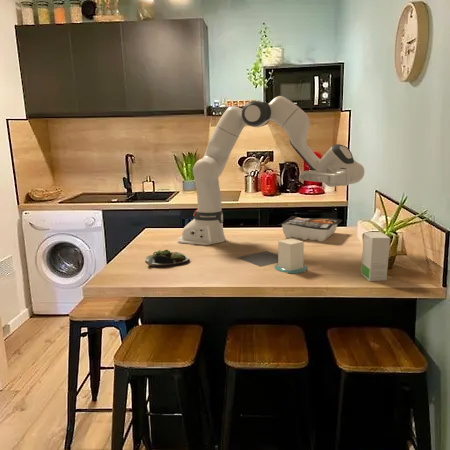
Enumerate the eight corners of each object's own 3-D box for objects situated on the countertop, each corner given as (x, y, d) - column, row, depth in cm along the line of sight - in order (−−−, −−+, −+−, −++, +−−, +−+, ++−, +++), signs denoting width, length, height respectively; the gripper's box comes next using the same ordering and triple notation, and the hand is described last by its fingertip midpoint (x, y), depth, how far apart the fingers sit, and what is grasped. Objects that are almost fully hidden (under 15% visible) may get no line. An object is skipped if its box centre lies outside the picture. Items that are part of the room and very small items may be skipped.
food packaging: (342, 218, 230) (329, 227, 211) (342, 233, 232) (328, 244, 212) (294, 214, 242) (277, 223, 223) (294, 229, 244) (277, 238, 224)
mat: (260, 267, 179) (260, 266, 179) (236, 258, 192) (236, 257, 192) (292, 260, 188) (292, 259, 188) (266, 251, 201) (266, 250, 201)
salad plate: (136, 258, 196) (136, 247, 195) (177, 252, 204) (176, 242, 203) (150, 270, 179) (149, 259, 178) (194, 264, 187) (193, 252, 186)
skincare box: (360, 274, 169) (362, 231, 166) (378, 273, 170) (380, 231, 166) (369, 281, 161) (371, 237, 158) (388, 280, 162) (390, 236, 158)
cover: (290, 271, 172) (290, 244, 170) (278, 266, 178) (278, 241, 176) (303, 267, 176) (303, 241, 174) (291, 263, 181) (291, 238, 179)
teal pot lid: (273, 273, 172) (273, 263, 172) (275, 263, 184) (275, 254, 183) (306, 274, 170) (306, 264, 169) (307, 264, 182) (307, 255, 181)
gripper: (315, 166, 201) (290, 168, 193) (352, 169, 184) (327, 172, 177) (314, 181, 202) (290, 184, 195) (352, 185, 186) (327, 189, 178)
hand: (308, 178), depth 186 cm, fingers open, 8 cm apart
